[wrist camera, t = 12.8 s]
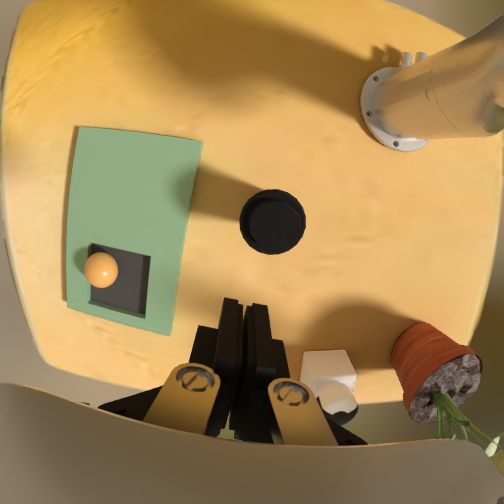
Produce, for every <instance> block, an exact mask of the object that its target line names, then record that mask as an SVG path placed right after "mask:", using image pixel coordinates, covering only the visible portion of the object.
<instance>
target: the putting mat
mask: <svg viewBox="0 0 504 504" xmlns="http://www.w3.org/2000/svg"><path fill="white" fill-rule="evenodd" d="M202 146H203V142H201V141H196V140H190V139H183V138H177V137H170V136H164V135H156V134H149V133H141V132H133V131H123V130H114V129H103V128H90V127H79V131H78V137H77V142H76V148H75V154H74V161H73V168H72V175H71V184H70V193H69V204H68V217H67V236H66V290H67V307H68V308H71V309H74V310H77V311H80V312H83V313H86V314H89V315H93V316H96V317H99V318H102V319H106V320H109V321H113V322H116V323H120V324H123V325H127V326H131V327H134V328H138V329H142V330H146V331H150V332H154V333H158V334H162V335H166V336H170V335H171V332H172V325H173V317H174V309H175V301H176V293H177V286H178V279H179V272H180V265H181V258H182V252H183V246H184V239H185V233H186V228H187V222H188V216H189V211H190V205H191V200H192V194H193V189H194V184H195V179H196V174H197V169H198V164H199V160H200V155H201V150H202ZM98 252H104V253H107V254H109V255H111V256H112V257H113V258H114V259H115V261H116V263H117V266H118V275H117V278H116V280H115V281H114V283H113V284H111V285H110V286H108V287H105V288H98V287H95V286H93V285H92V284H90V283H89V281H88V280H87V278H86V276H85V271H84V269H85V264H86V261H87V260H88V258H89V257H90V256H91V255H93V254H95V253H98Z"/></svg>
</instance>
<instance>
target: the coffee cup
mask: <svg viewBox="0 0 504 504" xmlns="http://www.w3.org/2000/svg"><path fill="white" fill-rule="evenodd" d="M239 219H240V231H241V233H242V236H243V238H244V240H245V241H246V242H247V243H248V245H249V246H250V247H252V248H253V249H255V250H256V251H258V252H260V253H264V254H268V255H274V254H281V253H284V252H287V251H289V250H290V249H292V248H293V247H294V246H296V245H297V243H298V242H299V241H300V239H301V238H302V236H303V233H304V231H305V228H306V216H305V213H304V210H303V207H302V205H301V204H300V203H299V201H298V200H297V199H296V198H295V197H294V196H292V195H291V194H289V193H288V192H285V191H281V190H278V189H271V190H264V191H262V192H259V193H256V194H255V195H254V196H253V197H251V198H250V199H249V200H248V201H247V202H246V204H245V205H244V207H243V208H242V211H241V215H240V218H239Z"/></svg>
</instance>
